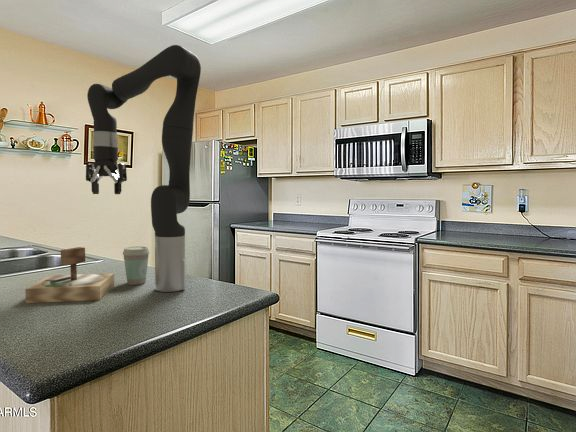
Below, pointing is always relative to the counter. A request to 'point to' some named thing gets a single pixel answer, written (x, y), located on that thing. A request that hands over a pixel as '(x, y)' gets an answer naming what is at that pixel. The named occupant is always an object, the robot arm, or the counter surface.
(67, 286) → the dial board
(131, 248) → the coffee cup
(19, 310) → the counter surface
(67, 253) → the key
